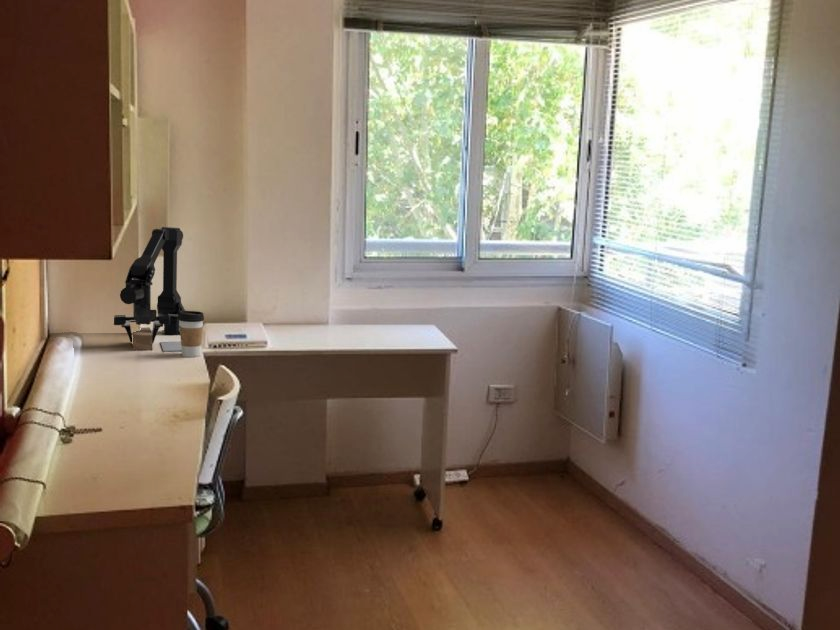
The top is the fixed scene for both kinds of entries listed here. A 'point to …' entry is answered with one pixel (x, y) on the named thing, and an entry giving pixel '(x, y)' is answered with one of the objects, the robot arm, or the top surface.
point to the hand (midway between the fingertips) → (142, 343)
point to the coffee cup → (191, 332)
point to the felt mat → (171, 346)
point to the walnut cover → (142, 339)
